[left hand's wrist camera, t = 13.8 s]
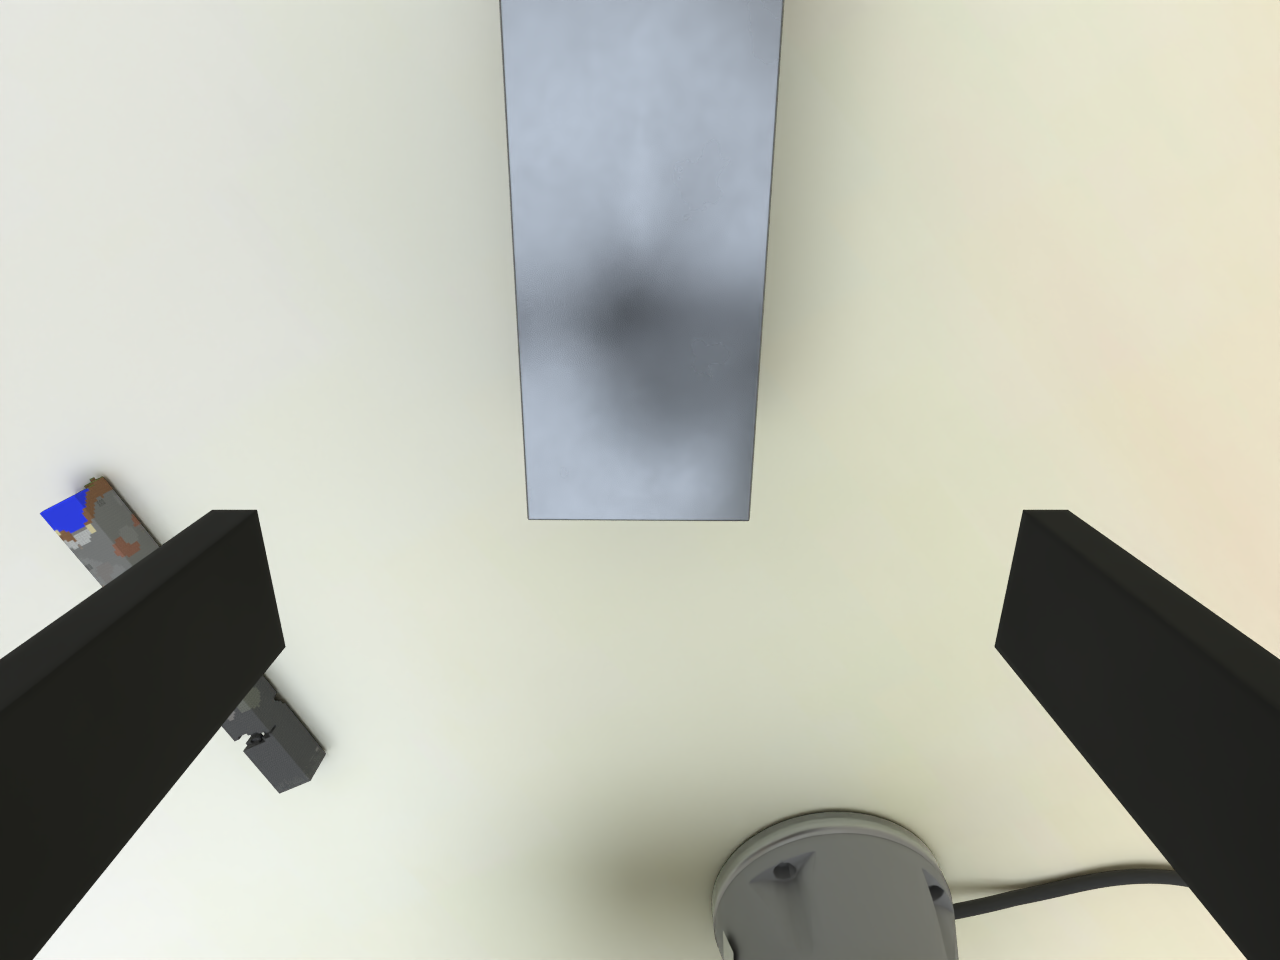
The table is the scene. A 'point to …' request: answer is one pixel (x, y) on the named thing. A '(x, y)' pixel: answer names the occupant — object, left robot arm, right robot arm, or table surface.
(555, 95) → the box
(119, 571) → the pillar
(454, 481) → the table surface
